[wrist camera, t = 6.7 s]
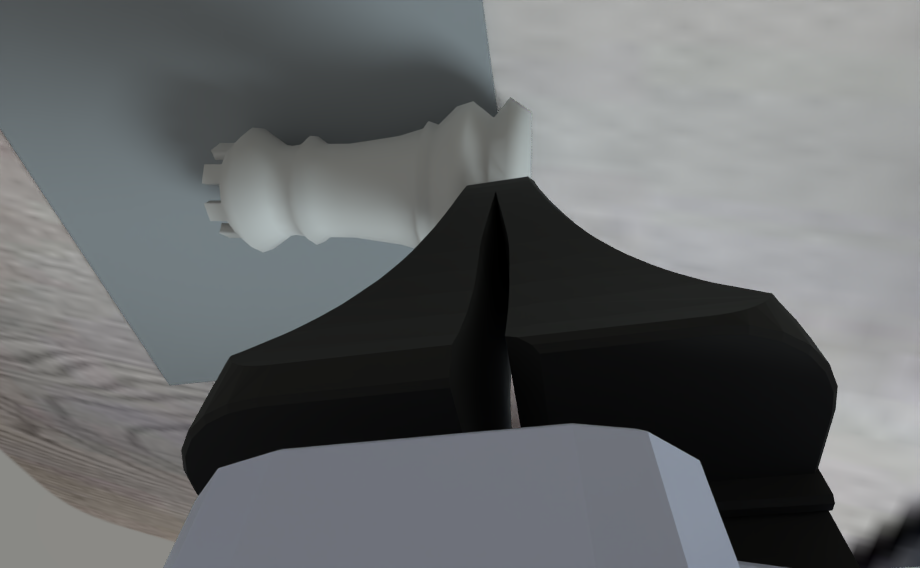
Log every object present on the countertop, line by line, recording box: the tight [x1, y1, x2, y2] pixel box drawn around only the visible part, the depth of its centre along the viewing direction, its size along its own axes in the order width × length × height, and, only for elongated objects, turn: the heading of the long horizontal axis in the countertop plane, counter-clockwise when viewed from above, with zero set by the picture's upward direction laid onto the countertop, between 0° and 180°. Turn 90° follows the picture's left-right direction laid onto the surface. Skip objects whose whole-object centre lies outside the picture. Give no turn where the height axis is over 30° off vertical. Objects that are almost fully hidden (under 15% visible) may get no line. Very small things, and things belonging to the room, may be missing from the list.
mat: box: [0, 0, 497, 385], centre depth 16 cm, size 16×14×1 cm
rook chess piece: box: [202, 97, 532, 252], centre depth 14 cm, size 4×4×8 cm
